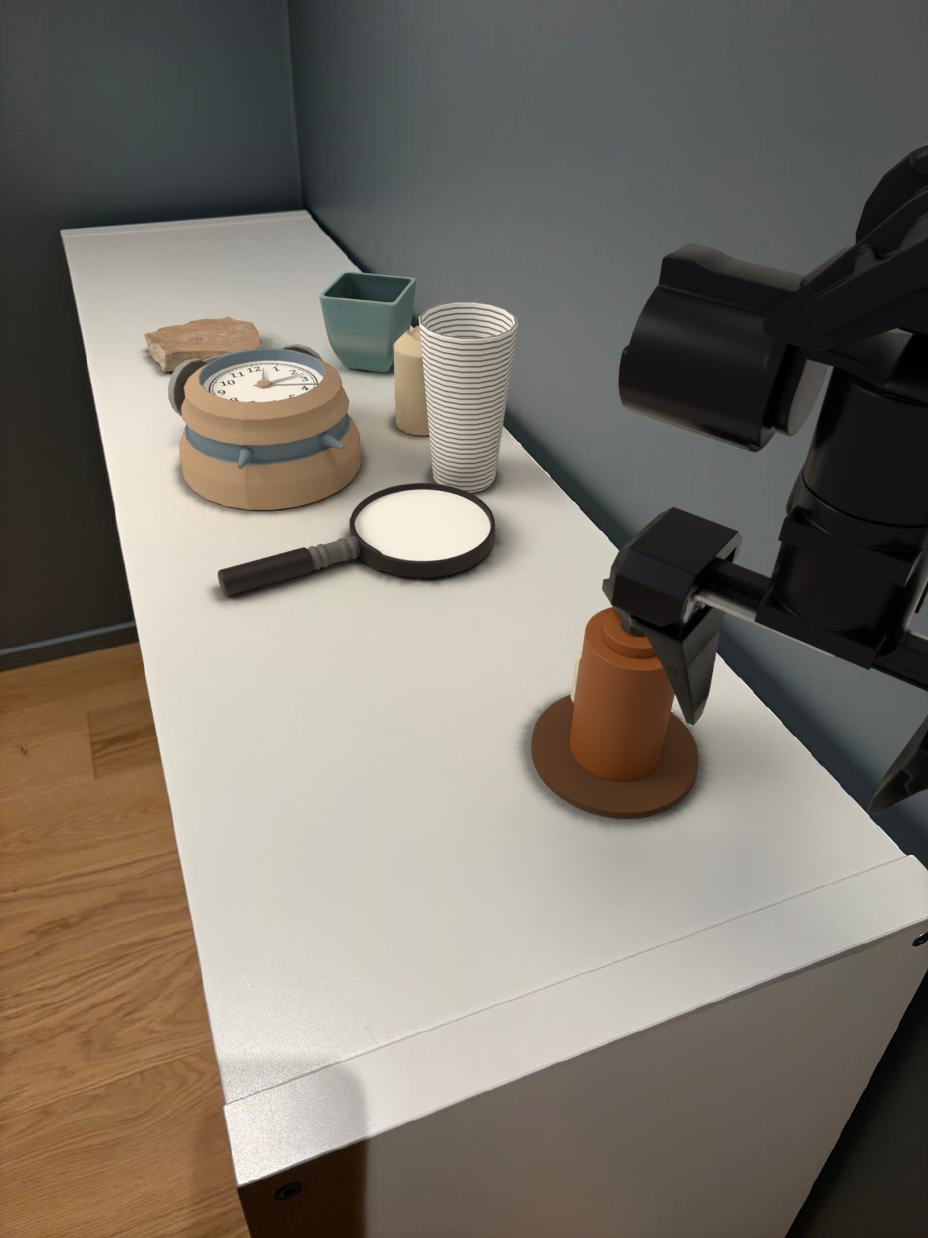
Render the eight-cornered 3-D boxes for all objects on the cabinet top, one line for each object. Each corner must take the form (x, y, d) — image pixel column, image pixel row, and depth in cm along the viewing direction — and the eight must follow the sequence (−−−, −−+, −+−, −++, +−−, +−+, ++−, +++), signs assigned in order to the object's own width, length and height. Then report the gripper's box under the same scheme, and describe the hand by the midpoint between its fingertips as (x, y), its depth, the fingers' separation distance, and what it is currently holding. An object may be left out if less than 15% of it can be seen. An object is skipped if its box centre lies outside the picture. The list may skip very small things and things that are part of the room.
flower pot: (347, 344, 112) (343, 269, 106) (417, 352, 110) (417, 276, 105) (323, 373, 105) (317, 295, 100) (397, 383, 104) (396, 304, 98)
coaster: (725, 742, 62) (726, 736, 62) (647, 848, 55) (649, 842, 55) (585, 673, 67) (586, 667, 67) (498, 763, 60) (499, 756, 60)
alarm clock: (186, 432, 75) (140, 328, 91) (203, 527, 81) (157, 413, 97) (383, 398, 80) (307, 305, 96) (386, 489, 86) (314, 388, 102)
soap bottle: (675, 772, 59) (709, 637, 52) (588, 789, 58) (611, 653, 51) (635, 701, 64) (661, 570, 57) (554, 716, 63) (570, 583, 56)
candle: (397, 437, 94) (395, 342, 88) (393, 412, 98) (391, 320, 92) (451, 435, 95) (452, 341, 88) (445, 410, 99) (446, 319, 93)
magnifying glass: (200, 553, 78) (196, 532, 76) (452, 487, 87) (452, 467, 85) (248, 640, 69) (244, 617, 68) (520, 556, 78) (522, 535, 77)
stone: (255, 331, 114) (252, 311, 112) (267, 372, 105) (264, 350, 104) (147, 342, 111) (142, 321, 109) (149, 384, 102) (145, 362, 101)
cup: (519, 495, 86) (531, 334, 76) (430, 506, 84) (431, 342, 74) (493, 451, 92) (501, 297, 82) (410, 460, 90) (408, 304, 81)
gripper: (1184, 481, 36) (1020, 752, 46) (738, 353, 44) (681, 606, 54) (1145, 624, 29) (962, 908, 39) (624, 440, 37) (583, 712, 47)
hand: (779, 761), depth 45 cm, fingers open, 9 cm apart
